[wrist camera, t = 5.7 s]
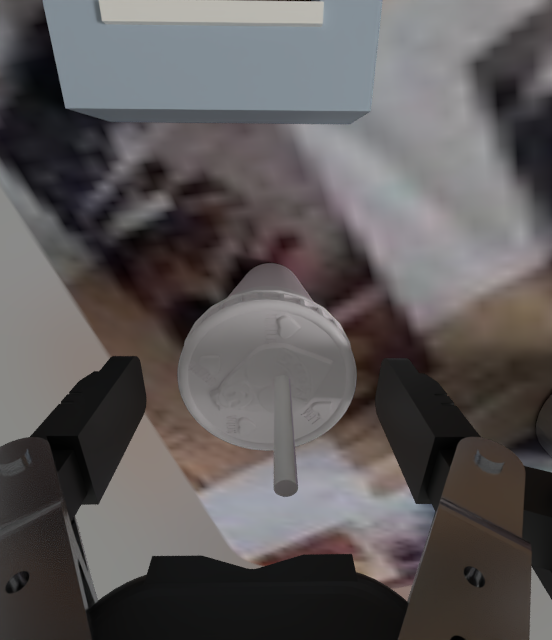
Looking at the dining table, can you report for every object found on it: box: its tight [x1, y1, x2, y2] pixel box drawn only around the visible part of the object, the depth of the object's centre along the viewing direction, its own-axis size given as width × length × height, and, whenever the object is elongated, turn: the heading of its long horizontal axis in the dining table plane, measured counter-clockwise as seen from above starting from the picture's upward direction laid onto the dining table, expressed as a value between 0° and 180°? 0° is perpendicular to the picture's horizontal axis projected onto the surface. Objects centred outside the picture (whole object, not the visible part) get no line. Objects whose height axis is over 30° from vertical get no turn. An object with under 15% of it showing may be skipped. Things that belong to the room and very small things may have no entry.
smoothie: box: [178, 263, 357, 497], centre depth 14 cm, size 6×6×14 cm
